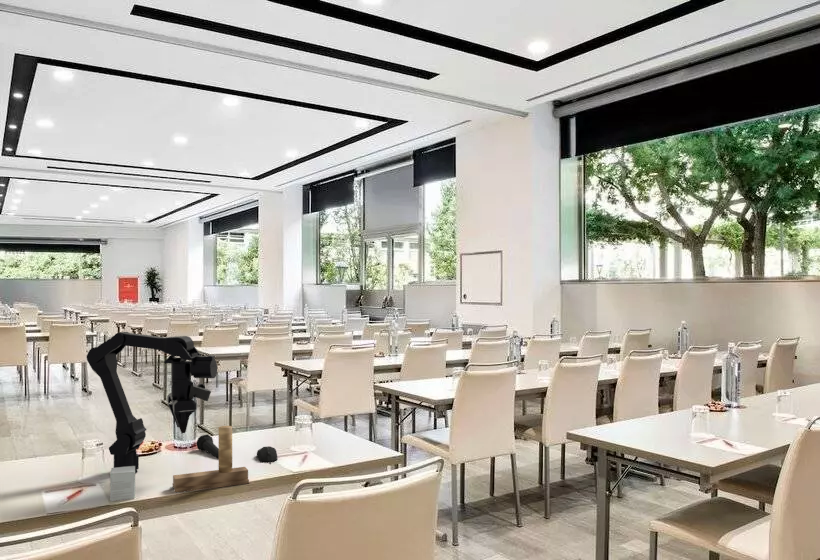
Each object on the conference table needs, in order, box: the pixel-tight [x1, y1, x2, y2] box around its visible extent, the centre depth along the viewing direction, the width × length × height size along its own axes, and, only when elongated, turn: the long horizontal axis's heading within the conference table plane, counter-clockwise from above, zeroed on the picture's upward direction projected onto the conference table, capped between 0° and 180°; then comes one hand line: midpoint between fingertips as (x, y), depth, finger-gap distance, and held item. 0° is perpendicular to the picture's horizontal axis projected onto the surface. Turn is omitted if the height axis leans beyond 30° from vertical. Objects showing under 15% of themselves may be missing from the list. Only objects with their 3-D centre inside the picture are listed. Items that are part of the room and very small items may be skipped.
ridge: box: [172, 466, 250, 493], centre depth 187 cm, size 20×6×4 cm, turn 117°
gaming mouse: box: [256, 446, 278, 465], centre depth 215 cm, size 6×15×4 cm, turn 19°
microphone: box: [195, 434, 219, 460], centre depth 221 cm, size 6×6×20 cm
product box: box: [109, 466, 136, 502], centre depth 177 cm, size 6×6×7 cm
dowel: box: [218, 425, 233, 473], centre depth 189 cm, size 4×4×12 cm
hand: (181, 429), depth 199 cm, fingers open, 9 cm apart
